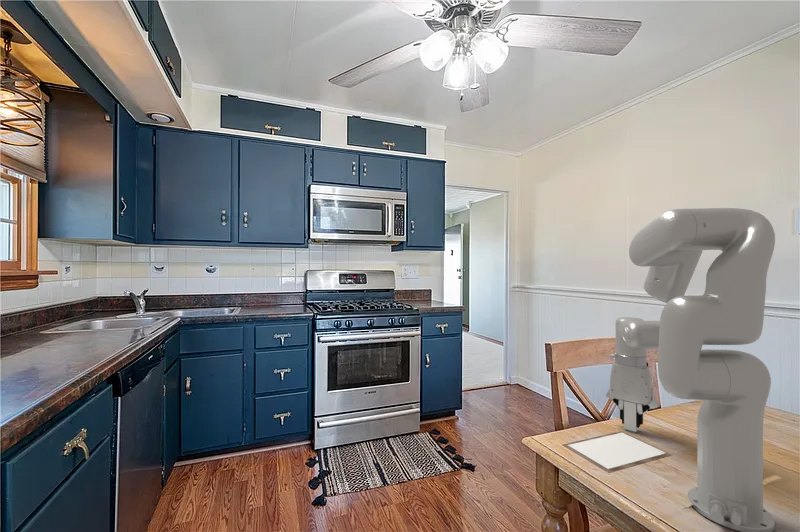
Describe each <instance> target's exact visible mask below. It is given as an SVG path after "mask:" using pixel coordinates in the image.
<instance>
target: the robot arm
mask: <svg viewBox="0 0 800 532" xmlns="http://www.w3.org/2000/svg"><path fill="white" fill-rule="evenodd" d="M775 244H776V233H775V229H774V227H773V225H772V223H771V222H770V220H769V219H768V218H767V217H766V216H764V215H763V214H762V213H760V212H757V211H755V210H750V209H747V208H739V207H738V208H735V207H734V208H733V207H710V208H708V207H707V208H706V207H705V208H677V209H670V210H668V211H665V212H663V213H661V214H659V215H658V216H657V217H656V218H654V219H653V220H652V221H651V222H649V223H648V224H646V225H645V226H643V227H642V228H641V229H640V230H639V231H638V232H637V233H636V234H634V236H633V238H632V240H631V242H630V245H629V248H628V256H629V259H630V261H631V262H632V263H633V264H634V265H636V266H637V267H638V266H639V267H645V268H646V267H649V269H648V272H647V275H646V278H645V280H644V283H643V288H644V291H645V292H646V294H648V295H650V296H651V297H652V298H654V299H656V300H658V301H660V302H662V303H664V304H665V305H664V306H663V308H662V310H661V314H660V319H659V320H644V319H642V318H641V317H640V318H639V317H632V316H627V317H626V316H623V317H618V318H617V319H616V320H615V353H609V354H610V355H609V356H610V357H609V358H610V359H613V360H614V362H612V364H611V369H610V379H609V389H608V391H607V393H606V394H605V397H607V398H608V400H611V401H613V403H614V404H615V405H616V406H617V408H618V410H619V420H621V424H622V425H624V401H628V402H633V403H637V413H636V427H637V428H640V426H642V425H643V424H644V413H645V412H647V411H649V410H653V409H657V408H658V407H659V403H658V402H657V399H656V398H655V396H654V390H653V381H652V373H651V369H650V367H649V366H647V350H658V354H657V355H658V356H657V373H658V378H659V382H660V384H661V386H662V388H663V389H664V390H665V392H666V393H667V394H668V395H670V396H672V397H674V398H676V399H681V400H693V401H703V402H702V404H701V406H700V408H699V409H698V413H697V429H696V430H697V439H696V441H697V442H696V443H697V448H696V450H697V454H696V455H697V467H696V469H697V486H695V487H692V488H690V489H689V490H688V491H687V498H688V500H689V502H690V503H691V507H692V508H693V509H695V511H697V513H699V514H700V515H702V516H704V517H706V518H707V519H709V520H710V521H712V522H715V524H718V525H721V526H723V527H726V528H727V529H730V530H735V531H737V532H773V531H774V530H775V529H776V521H775V519H774V517H773V515H772V514H771V513H770V512H769V511H768V510H767V509H765V508H764V459H763V458H764V420H765V419H764V418H765V409H766V405H767V401H768V398H769V394H770V391H771V384H772V379H771V374H770V371H769V368H768V367H767V365H766V364H765V363H764V362H763V361H762V360H761V359H760V358H758V357H757V356H755V355H753V354H751V353H748V352H745V351H741V350H736V349H734V350H733V349H710V348H709V349H702V348H703V346H743V345H749V344H753V343H755V342H757V341H758V340H759V339H760V337H761V336H762V332H763V329H764V328H763V327H764V321H765V320H764V319H765V308H766V305H765V304H766V293H767V277H768V271H769V267H770V264H771V260H772V257H773V255H774V251H775ZM711 250H712V251H715V250H716V251H722V252H721V253H719V255H717V257H716V258H715V259H714V260H713V261H712V263H710V266H709V268H708V269H707V272H706V276H705V277H706V278H705V290H704V292H703V294H702V295H700V294H699V295H689V294H688V295H686V292H687V290H688V287H689V285H690V283H691V280H692V278H693V275H694V273H695V271H696V269H697V265H698V264H699V261H700V258H701V256H702V254H703V251H711Z"/></svg>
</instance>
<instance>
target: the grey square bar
mask: <svg viewBox="0 0 800 532" xmlns="http://www.w3.org/2000/svg"><path fill="white" fill-rule="evenodd" d="M636 413H637V403H633V402H628V401H624V424H623V428H624V430H625V431H628V432H630V433H634V434H636V433H637V432H638V431H639V428H640V427H639V428H637V427H636Z"/></svg>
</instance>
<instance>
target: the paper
mask: <svg viewBox="0 0 800 532" xmlns="http://www.w3.org/2000/svg"><path fill="white" fill-rule="evenodd" d="M624 433H625V432H624ZM624 433H618V434H614V435H609V436H605V437H601V438H596V439H592V440H587V441H583V442H579V443H574V444H570V445H568V446H569V447H571V448H572V449H574V450H576V451H577V452H579V453H581V454H582V455H584V456H586V457H587V458H589V459H591V460H593V461H594V462H596V463H598V464H599V465H601V466H603V467H604V468H606V469H608V470H609V469H612V468H616V467H620V466H623V465H627V464H631V463H634V462H638V461H642V460H645V459H649V458H652V457H656V456H660V455H663V454H666V453H665V452H663V451H664V450H663V451H661V450H662V449H661V450H659V449H660V448H659V449H657V448H658V447H657V448H654V447H652V446H650V445H651V444H650V445H648V444H649V443H648V444H646V443H647V442H646V443H644V442H645V441H644V442H641V441H639V440H637V439H638V438H637V439H635V438H636V437H635V438H633V437H634V436H633V437H631V436H632V435H631V436H629V435H630V434H629V435H626V434H627V433H626V434H624Z"/></svg>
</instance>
